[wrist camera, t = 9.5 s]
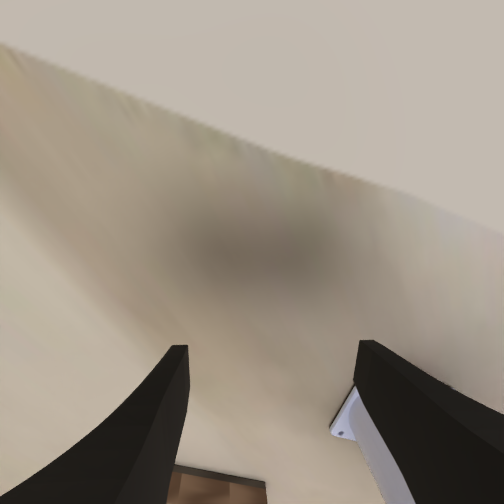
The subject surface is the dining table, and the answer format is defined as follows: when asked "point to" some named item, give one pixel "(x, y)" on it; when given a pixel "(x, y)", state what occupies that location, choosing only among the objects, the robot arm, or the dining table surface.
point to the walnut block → (213, 488)
